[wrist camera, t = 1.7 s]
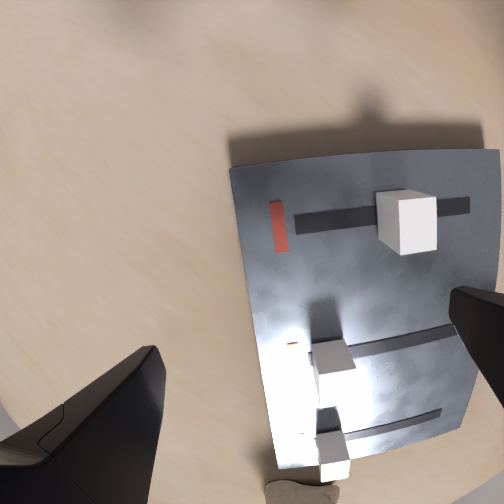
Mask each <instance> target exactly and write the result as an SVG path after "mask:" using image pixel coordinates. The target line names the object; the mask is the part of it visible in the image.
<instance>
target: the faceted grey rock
mask: <svg viewBox="0 0 504 504" xmlns="http://www.w3.org/2000/svg"><path fill="white" fill-rule="evenodd" d="M339 491H340V490H339V487H338V486H337V485H334V486H333V485H332V484H331V485H325V486H320V487H318V486H308V485H301V484H299V483H296V482H294V481H290V480H289V481H288V480H278V481H274V482H271V483H269V484H267V485H266V488H265V492H264V494H265V499H266V504H336V503H337V500H338V499H339Z"/></svg>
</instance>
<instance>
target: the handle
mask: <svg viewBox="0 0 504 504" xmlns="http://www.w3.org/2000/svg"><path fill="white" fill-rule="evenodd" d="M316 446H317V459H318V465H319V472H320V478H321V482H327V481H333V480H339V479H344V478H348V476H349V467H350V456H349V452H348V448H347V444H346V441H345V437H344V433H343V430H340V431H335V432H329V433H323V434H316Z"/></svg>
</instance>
